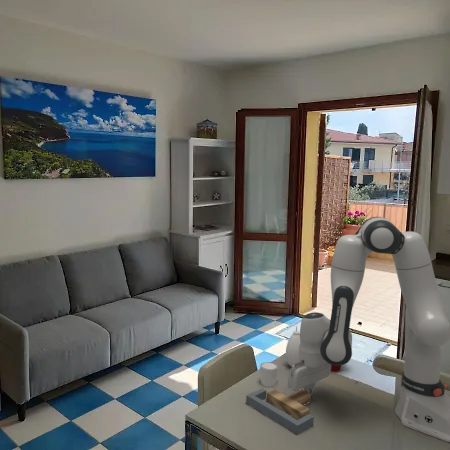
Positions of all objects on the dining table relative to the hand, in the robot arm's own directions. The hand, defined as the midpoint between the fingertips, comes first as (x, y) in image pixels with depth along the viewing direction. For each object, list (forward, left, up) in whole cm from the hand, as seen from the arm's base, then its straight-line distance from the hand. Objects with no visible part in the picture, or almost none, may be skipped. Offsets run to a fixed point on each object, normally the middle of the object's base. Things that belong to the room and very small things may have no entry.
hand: (308, 394), depth 155 cm
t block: (0, +7, -2) cm, 8 cm away
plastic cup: (+9, -28, -2) cm, 29 cm away
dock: (0, +15, -2) cm, 15 cm away
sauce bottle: (+20, -16, -2) cm, 25 cm away
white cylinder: (+17, +3, -2) cm, 17 cm away
